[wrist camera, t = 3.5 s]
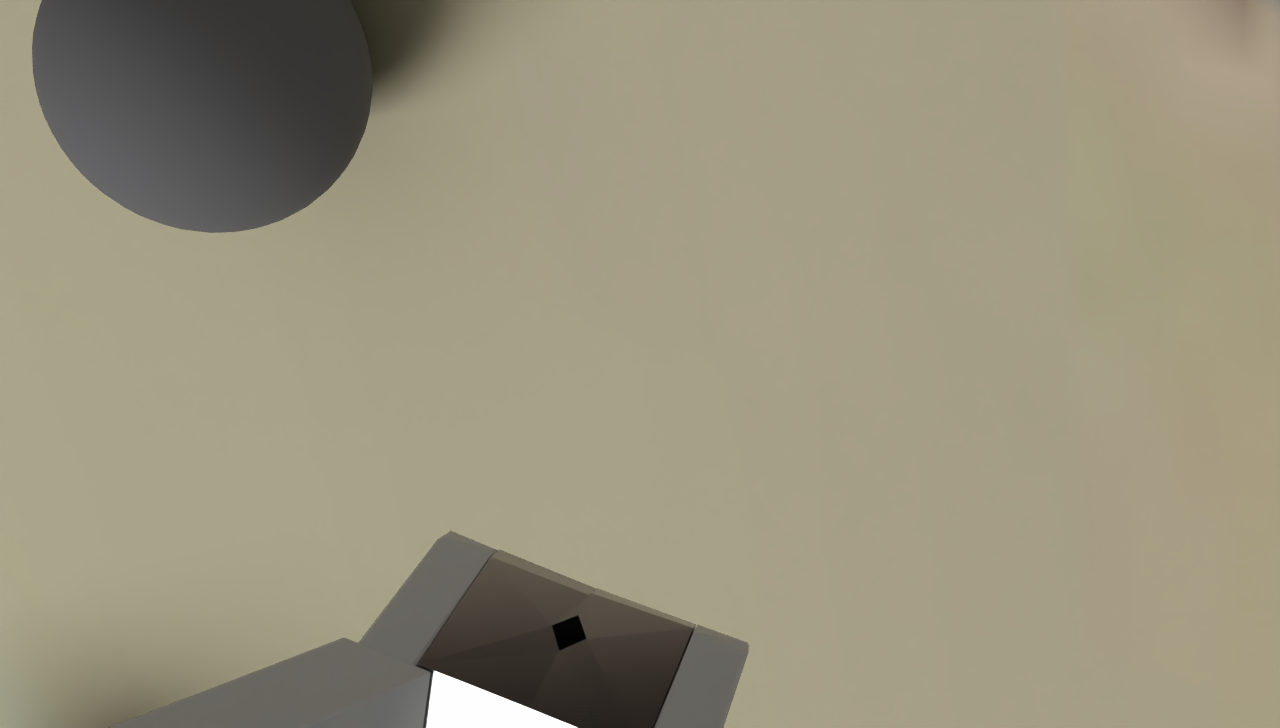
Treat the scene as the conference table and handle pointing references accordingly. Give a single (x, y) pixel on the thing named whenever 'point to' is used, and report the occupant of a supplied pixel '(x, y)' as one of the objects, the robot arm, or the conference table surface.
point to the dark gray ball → (205, 102)
